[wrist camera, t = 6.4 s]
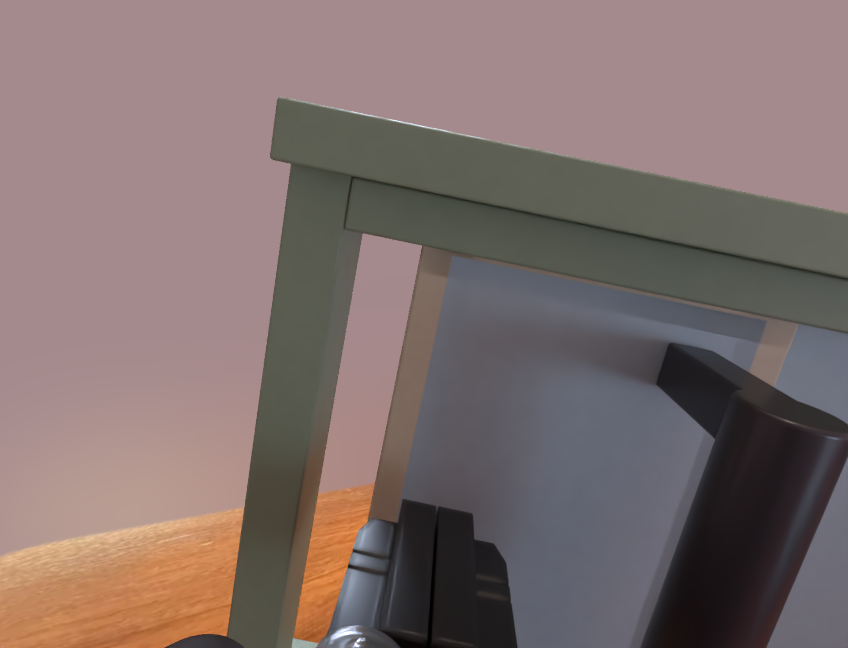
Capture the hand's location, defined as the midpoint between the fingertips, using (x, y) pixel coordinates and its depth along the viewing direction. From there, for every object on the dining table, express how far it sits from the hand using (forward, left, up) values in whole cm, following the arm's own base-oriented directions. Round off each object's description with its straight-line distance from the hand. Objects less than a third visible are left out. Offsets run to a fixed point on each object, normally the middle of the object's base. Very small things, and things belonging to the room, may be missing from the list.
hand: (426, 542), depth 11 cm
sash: (+3, +1, -7) cm, 8 cm away
